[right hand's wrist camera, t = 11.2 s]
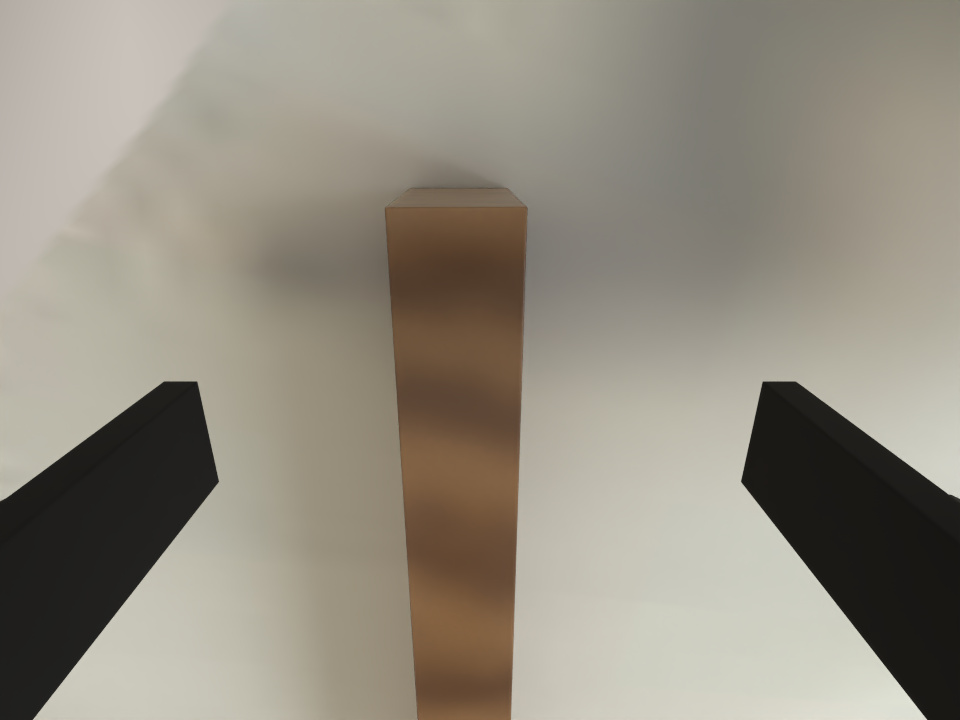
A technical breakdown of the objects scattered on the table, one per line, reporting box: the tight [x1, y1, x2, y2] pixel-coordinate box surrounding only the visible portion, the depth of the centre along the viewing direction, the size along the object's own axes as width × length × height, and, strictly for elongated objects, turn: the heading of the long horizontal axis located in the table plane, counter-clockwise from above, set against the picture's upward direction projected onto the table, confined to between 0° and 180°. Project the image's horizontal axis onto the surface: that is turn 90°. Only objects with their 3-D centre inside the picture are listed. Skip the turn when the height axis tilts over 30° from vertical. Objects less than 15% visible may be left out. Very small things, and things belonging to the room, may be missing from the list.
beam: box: [385, 188, 527, 720], centre depth 30 cm, size 51×5×8 cm, turn 0°
